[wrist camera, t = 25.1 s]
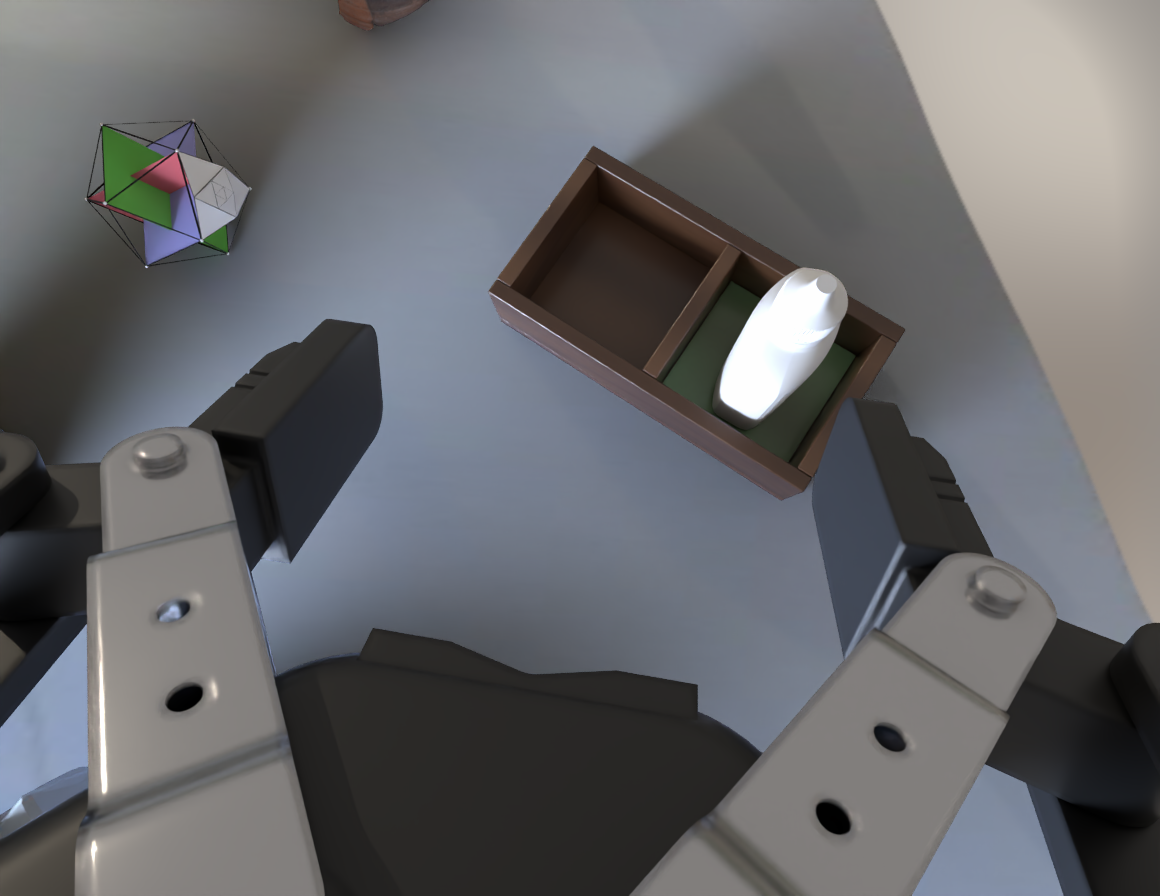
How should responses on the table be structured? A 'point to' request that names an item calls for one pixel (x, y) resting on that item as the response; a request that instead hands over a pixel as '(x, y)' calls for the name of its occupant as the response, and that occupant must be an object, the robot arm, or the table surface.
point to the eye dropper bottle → (780, 346)
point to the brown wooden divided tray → (676, 317)
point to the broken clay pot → (376, 11)
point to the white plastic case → (43, 799)
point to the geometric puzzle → (169, 191)
